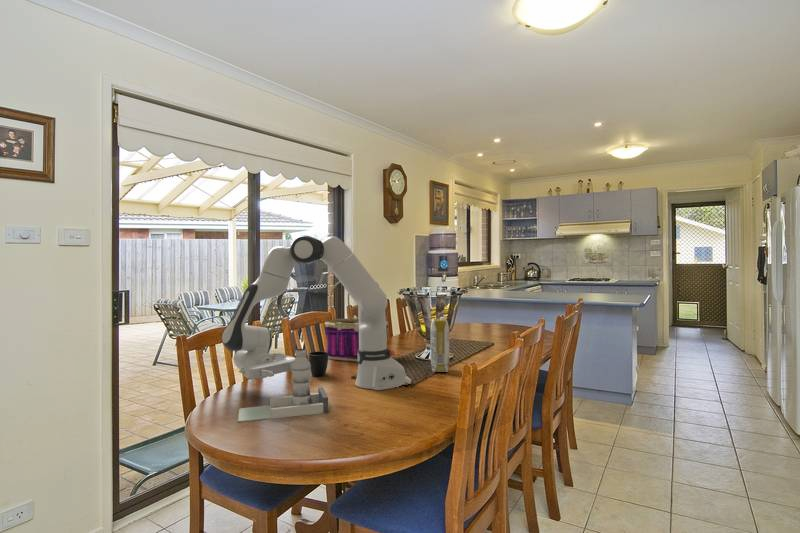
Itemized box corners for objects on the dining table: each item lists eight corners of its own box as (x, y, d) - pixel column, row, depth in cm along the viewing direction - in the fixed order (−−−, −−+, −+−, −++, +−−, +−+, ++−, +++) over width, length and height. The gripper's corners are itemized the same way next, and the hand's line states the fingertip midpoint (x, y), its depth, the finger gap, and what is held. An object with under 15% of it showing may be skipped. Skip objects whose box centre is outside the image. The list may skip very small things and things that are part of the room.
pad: (270, 406, 156) (270, 405, 156) (271, 418, 145) (271, 417, 145) (239, 409, 153) (239, 408, 153) (237, 422, 142) (237, 420, 142)
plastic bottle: (307, 413, 150) (306, 352, 149) (288, 411, 151) (287, 351, 150) (314, 406, 156) (314, 348, 155) (296, 405, 157) (295, 347, 157)
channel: (322, 400, 162) (322, 386, 162) (328, 412, 150) (328, 397, 150) (270, 406, 156) (270, 391, 156) (271, 418, 144) (271, 403, 144)
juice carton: (449, 373, 197) (449, 318, 196) (431, 373, 197) (431, 318, 197) (447, 368, 206) (447, 315, 206) (430, 368, 207) (430, 315, 206)
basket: (392, 355, 233) (391, 277, 231) (376, 364, 214) (375, 279, 213) (338, 351, 244) (337, 276, 243) (319, 359, 226) (318, 278, 224)
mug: (334, 371, 203) (334, 349, 203) (323, 378, 191) (323, 355, 191) (317, 370, 205) (316, 349, 204) (305, 377, 193) (305, 354, 193)
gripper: (236, 361, 162) (257, 368, 152) (286, 352, 177) (307, 357, 167) (236, 379, 162) (257, 386, 153) (286, 368, 177) (307, 374, 168)
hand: (284, 371), depth 160 cm, fingers open, 8 cm apart
